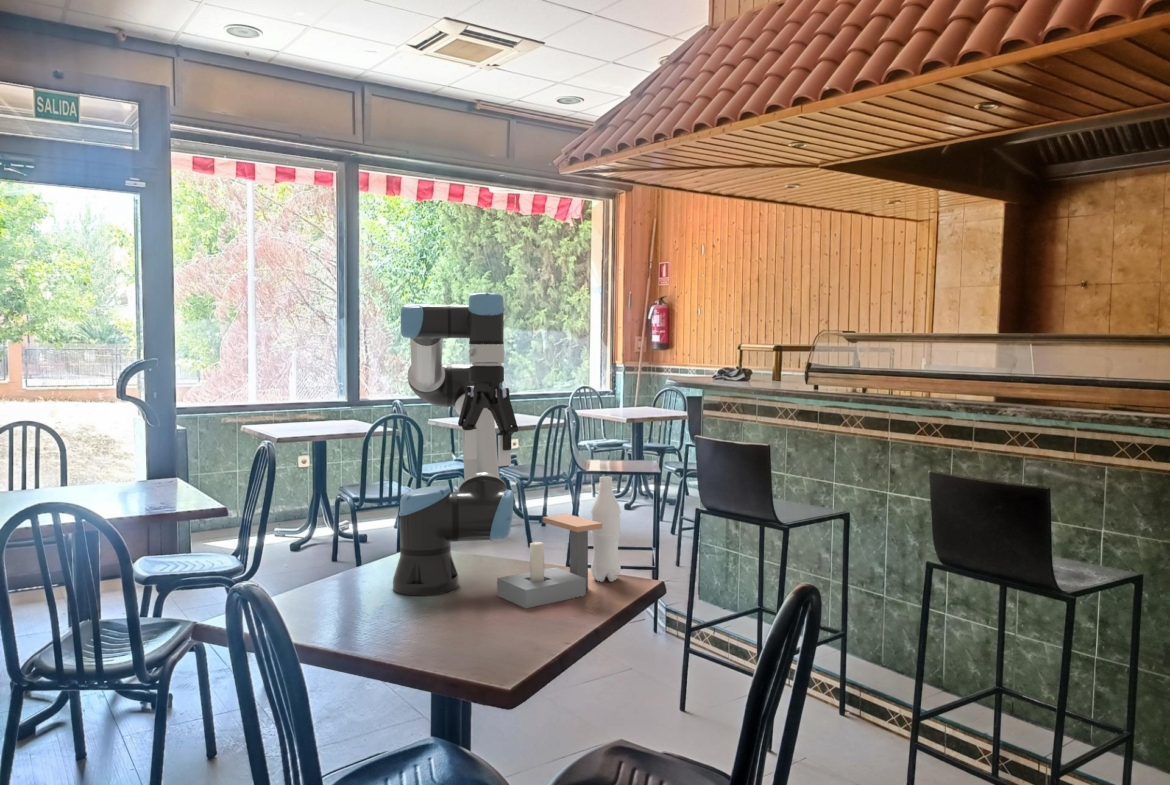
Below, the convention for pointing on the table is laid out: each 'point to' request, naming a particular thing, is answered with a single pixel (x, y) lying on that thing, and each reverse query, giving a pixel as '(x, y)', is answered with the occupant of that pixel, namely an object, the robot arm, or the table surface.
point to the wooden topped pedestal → (576, 540)
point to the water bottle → (605, 533)
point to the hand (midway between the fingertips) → (487, 462)
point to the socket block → (541, 588)
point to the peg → (536, 562)
